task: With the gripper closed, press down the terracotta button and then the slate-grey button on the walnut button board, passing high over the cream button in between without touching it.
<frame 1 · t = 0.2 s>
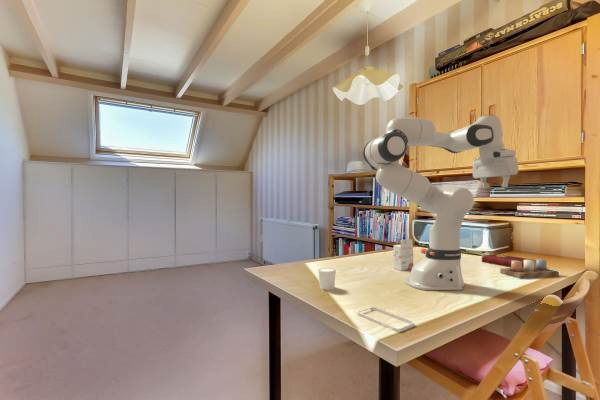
hand: (495, 187, 126), 39 cm above the table, tool pointing down, fingers open, 8 cm apart
ink cartridge box: (403, 269, 148), on the table
terracotta button: (516, 266, 133), point 4 cm above the table, slide at 0.0 cm
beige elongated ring: (384, 322, 86), on the table
shot glass: (327, 288, 117), on the table
slate-grey button: (541, 264, 136), point 4 cm above the table, slide at 0.0 cm
button board: (528, 274, 135), on the table
cream button: (528, 265, 135), point 4 cm above the table, slide at 0.0 cm
hardcover book: (508, 265, 155), on the table
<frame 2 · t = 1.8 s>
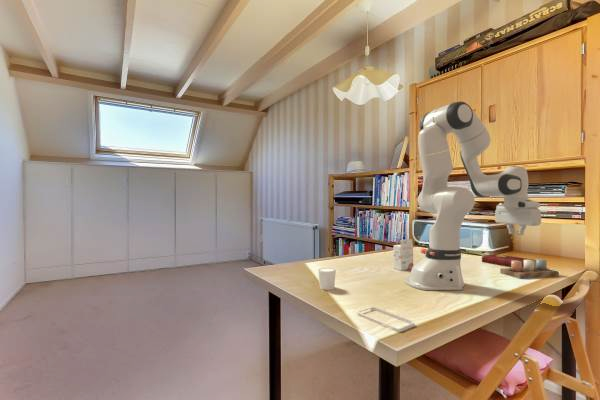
hand: (516, 234, 133), 18 cm above the table, tool pointing down, fingers open, 3 cm apart
nothing on the table moved.
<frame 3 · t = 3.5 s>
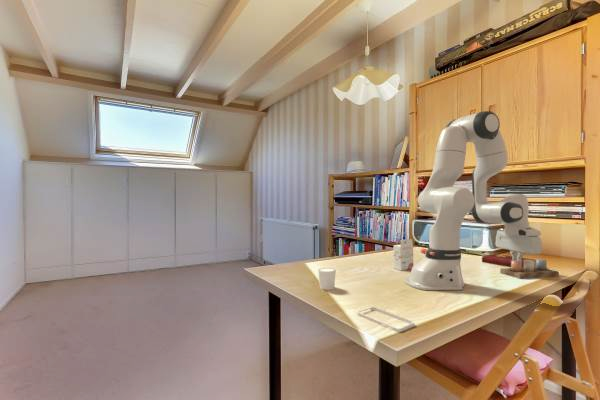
hand: (517, 261, 134), 6 cm above the table, tool pointing down, fingers closed, pressing on terracotta button
terracotta button: (516, 266, 133), point 4 cm above the table, slide at 0.1 cm, touching gripper
everything else where it was.
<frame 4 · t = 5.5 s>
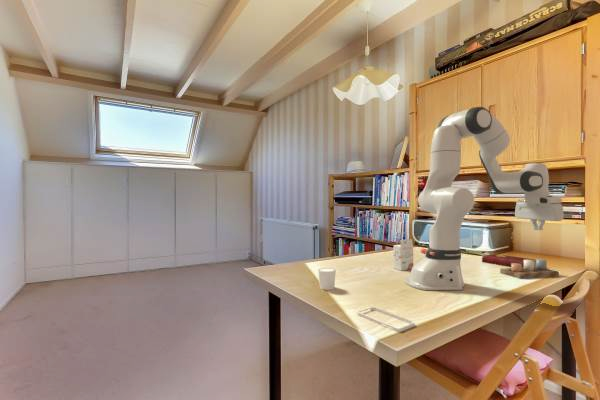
hand: (537, 229, 136), 20 cm above the table, tool pointing down, fingers closed
terracotta button: (516, 269, 133), point 3 cm above the table, slide at 1.3 cm
everything else where it was.
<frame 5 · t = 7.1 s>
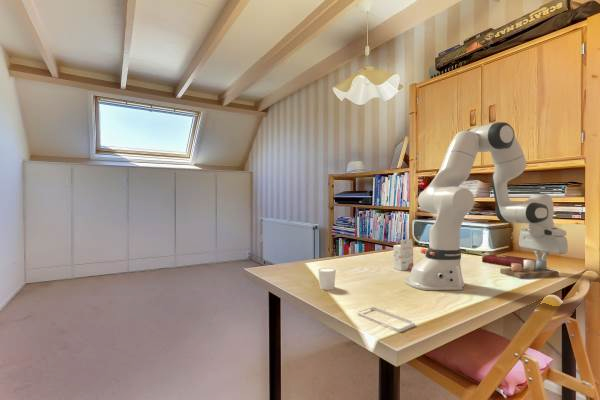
hand: (541, 260, 136), 6 cm above the table, tool pointing down, fingers closed, pressing on slate-grey button
slate-grey button: (541, 265, 136), point 4 cm above the table, slide at 0.4 cm, touching gripper
everything else where it was.
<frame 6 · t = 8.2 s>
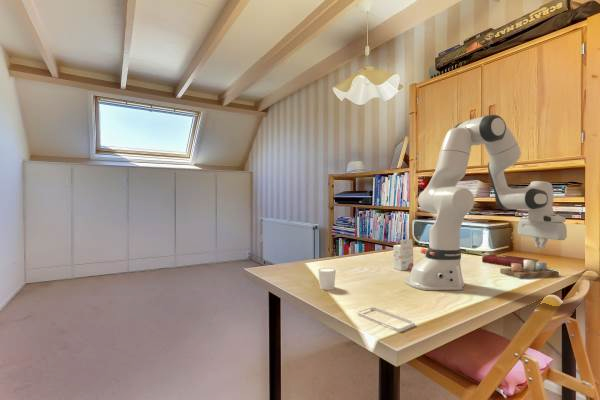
hand: (540, 247, 136), 12 cm above the table, tool pointing down, fingers closed
slate-grey button: (541, 267, 136), point 3 cm above the table, slide at 1.3 cm
everything else where it was.
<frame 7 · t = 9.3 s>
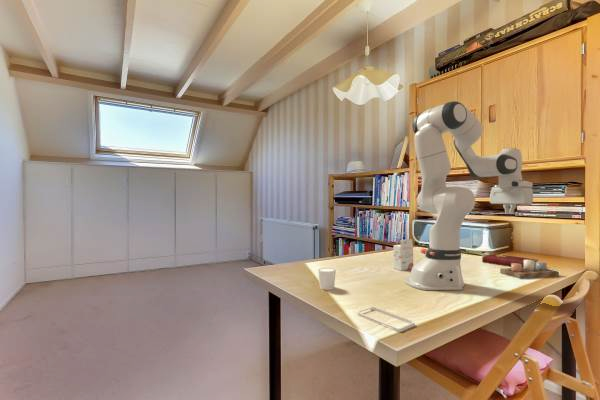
hand: (509, 214, 139), 27 cm above the table, tool pointing down, fingers closed
nothing on the table moved.
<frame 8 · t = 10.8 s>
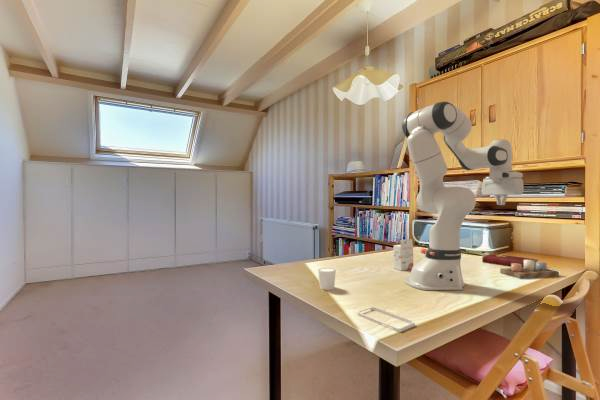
hand: (501, 204, 140), 31 cm above the table, tool pointing down, fingers closed
at the end: terracotta button slide at 1.3 cm; slate-grey button slide at 1.3 cm; cream button slide at 0.0 cm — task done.
